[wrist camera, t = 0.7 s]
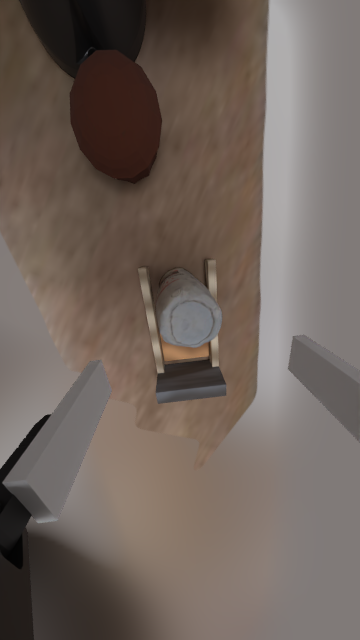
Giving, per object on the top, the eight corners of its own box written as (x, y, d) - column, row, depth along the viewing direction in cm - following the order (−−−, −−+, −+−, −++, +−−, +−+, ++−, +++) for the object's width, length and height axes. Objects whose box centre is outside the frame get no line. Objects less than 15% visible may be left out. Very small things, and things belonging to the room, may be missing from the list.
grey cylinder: (194, 262, 35) (220, 276, 16) (202, 300, 38) (232, 349, 20) (153, 273, 35) (134, 299, 17) (165, 310, 38) (159, 366, 20)
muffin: (157, 200, 31) (151, 179, 21) (92, 184, 29) (56, 155, 20) (168, 110, 26) (167, 34, 17) (93, 87, 25) (47, -8, 16)
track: (140, 267, 35) (130, 272, 26) (212, 258, 35) (225, 261, 26) (160, 375, 45) (157, 403, 37) (216, 368, 45) (226, 395, 37)
